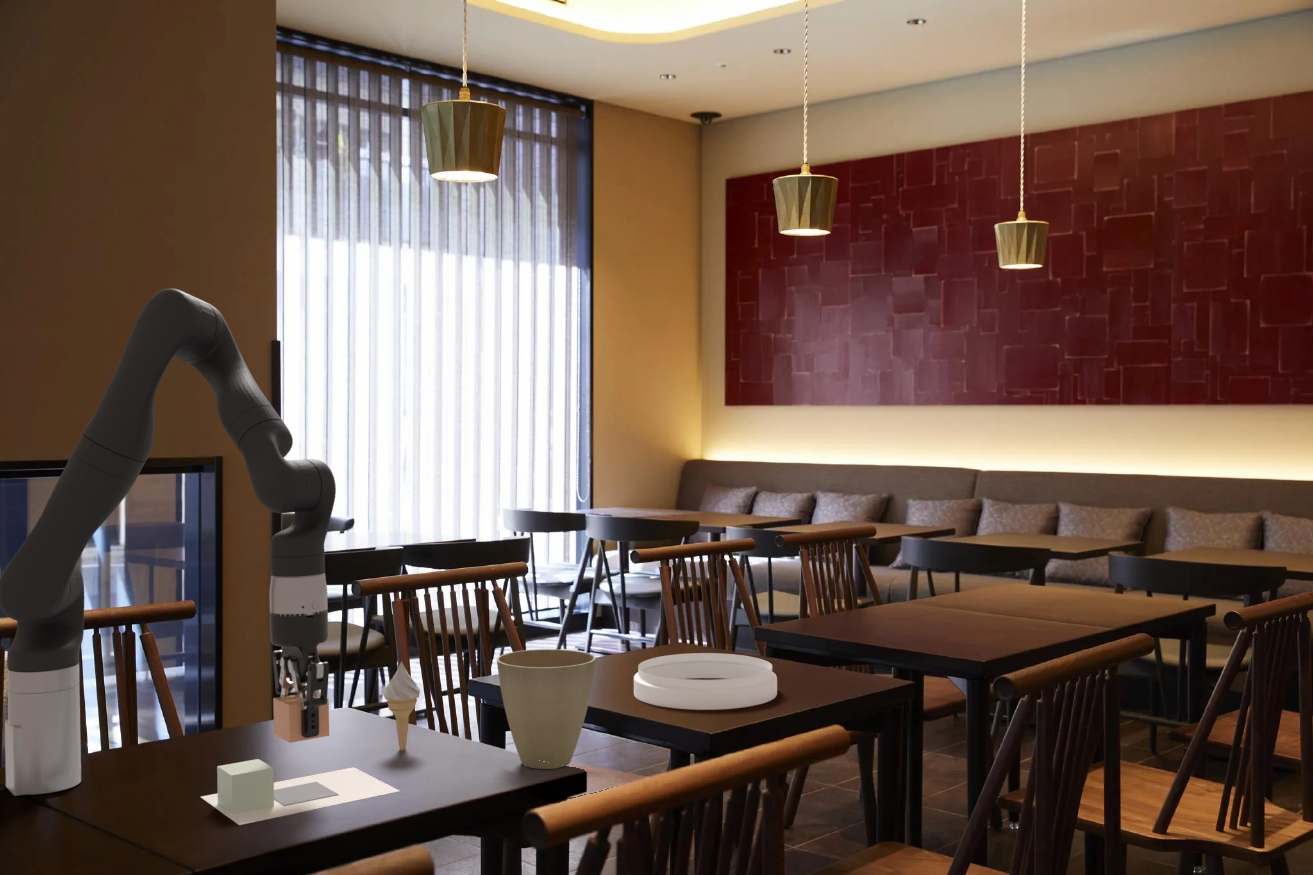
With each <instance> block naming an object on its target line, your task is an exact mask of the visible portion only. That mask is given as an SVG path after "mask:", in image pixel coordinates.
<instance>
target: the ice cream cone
mask: <svg viewBox="0 0 1313 875" xmlns="http://www.w3.org/2000/svg"><path fill="white" fill-rule="evenodd" d="M412 677H413V676H411V675H410V674H409V671H407V669H406V668H405V665H404V663H403V661H401V662H400V664H399V665H398V668H397V670H396V672H395V673H394V674H393V676H392V678H391V679H390V680H389V681H388V684H387V686H386V687H385V688H384V690H383V692H382V693H383V697H384V700H386V704H387V706H388V710H390V711H391V712H392V714H393V715H394V716H395V722H396V723H395V725H396V732H397V740H398V747H399V751H406V750H407V741H408V733H409V732H408V731H409V716H410V715H411V713H412V711H413V710H414V709H416V705H417V701H418V698H419V697H420V694H421V688H419V687H418V685H417V683H416V681H414V679H413V678H412Z"/></svg>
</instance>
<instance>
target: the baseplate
mask: <svg viewBox="0 0 1313 875" xmlns="http://www.w3.org/2000/svg"><path fill="white" fill-rule="evenodd" d="M398 792H399V793H400V792H401V790H400V789H397V788H395V787H394V786H391V785H389V784H387V783H386V782H383V781H382V780H380V779H377V778H375V777H374V776H372V775H370V774H368V773H366V772H364V771H361V770H360V769H358V768H356V767H348V768H343V769H337V770H332V771H328V772H322V773H317V774H312V775H305V776H301V777H300V776H299V777H296V778H291V779H287V780H279V781H275V782H274V806H270V807H265V808H261V809H256V810H251V811H246V812H241V813H236V814H231V813H230V812H228V811H227V810H225V809H224V808H223V807H221V806H220V805H218V792H217V793H213V794H207V795H203V796H200V798H201V799H202V800H204V801H205V802H207V803H208V804H209V805H211V806H212V807H213V808H214V809H216V810H218V811H219V812H220V813H221V814H223V815H224V816H226V817H227V818H229V819H230V820H231V821H232V822H234V823H235V824H237V825H238V826H242V825H246V824H251V823H256V822H261V821H265V820H271V819H275V818H280V817H286V816H289V815H294V814H299V813H303V812H308V811H314V810H318V809H325V808H327V807H333V806H337V805H338V806H339V805H341V804H342V805H343V804H347V803H353V802H356V801H360V800H361V801H362V800H365V799H371V798H375V797H380V796H385V795H391V794H394V793H398Z"/></svg>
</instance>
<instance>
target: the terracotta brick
mask: <svg viewBox="0 0 1313 875" xmlns="http://www.w3.org/2000/svg"><path fill="white" fill-rule="evenodd" d="M305 694H306V692H305ZM313 697H314V696H313ZM272 700H273V702H272V703H273V704H272V705H273V736H276V737H278V738H279V739H281V740H283V741H285V742H287V743H290V744H291V743H297V742H303V741H308V740H313V739H317V738H318V739H319V738H324V737H329V736H330V709H329V708H330V707H329V706H330V704H329V698H328V697H327V704H326V705H323V706H321V707H319V734H318V735H317V736H315V737H309V738H305V737H303V736H302V731H301V710H302V709H301V705H300V699H299V695H298V694H297V695H291V696H284V697H281V696H279V697H273V699H272Z"/></svg>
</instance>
